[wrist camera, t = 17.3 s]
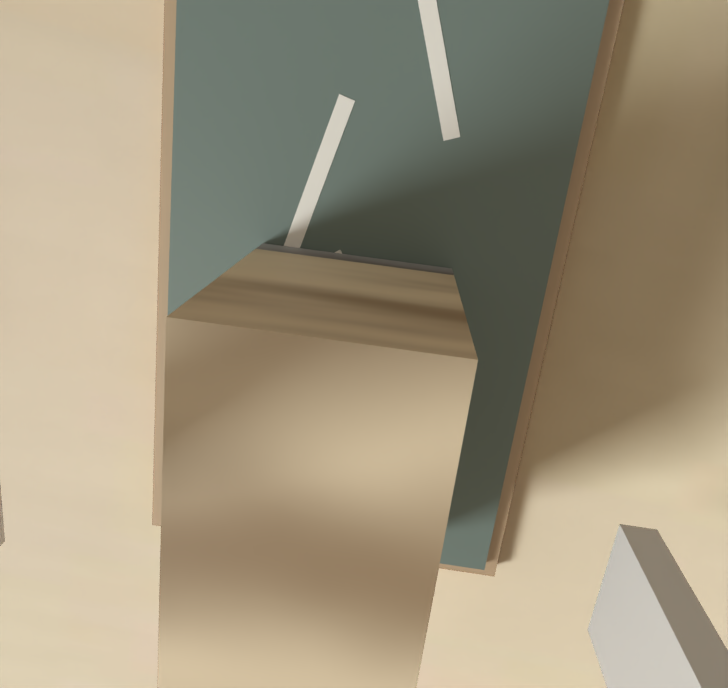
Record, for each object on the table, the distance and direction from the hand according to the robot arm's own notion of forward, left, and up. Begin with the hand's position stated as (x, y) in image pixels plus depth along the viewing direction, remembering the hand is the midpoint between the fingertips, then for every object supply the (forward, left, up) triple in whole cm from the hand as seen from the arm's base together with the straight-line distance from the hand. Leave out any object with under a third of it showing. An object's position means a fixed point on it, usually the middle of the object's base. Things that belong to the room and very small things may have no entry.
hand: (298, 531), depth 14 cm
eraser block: (+1, 0, -9) cm, 9 cm away
